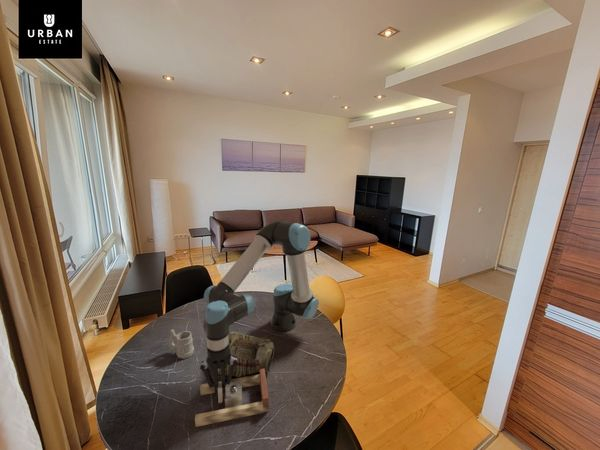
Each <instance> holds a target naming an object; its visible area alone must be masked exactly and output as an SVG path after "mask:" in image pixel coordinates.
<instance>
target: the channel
mask: <svg viewBox="0 0 600 450" xmlns="http://www.w3.org/2000/svg"><path fill="white" fill-rule="evenodd" d="M236 381H242V389H244V388H247V387H253V386H258V385H259V386H260V388H259V389H260V397H261V400H260V401H256V402H251V403H247V404H242V405H241V406H236V407H231V408H226V409H225V408H222V409H218V410H212V411H207V412H202V413H197V414H195V416H194V424H195V428H198V427H204V426H206V425H210V424H212V425H213V424H217V423H221V422H225V421H230V420H236V419H241V418H245V417H250V416H254V415H259V414H263V413H268V412H269V411H270V409H269V408H270V407H269V405H270V404H269V403H270V401H269V397H270V396H269V391H268V384H267V377H266V372H265V368H264V369H260V372H259V374H253V375H249V376H248V375H247V376H241V377H235V378H231V382H236ZM218 382H222V380H218ZM199 390H200V396H204V395H210V394H215V388H214V387H211V388H210V387H209V385H208V383H203V384H200V388H199Z"/></svg>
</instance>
